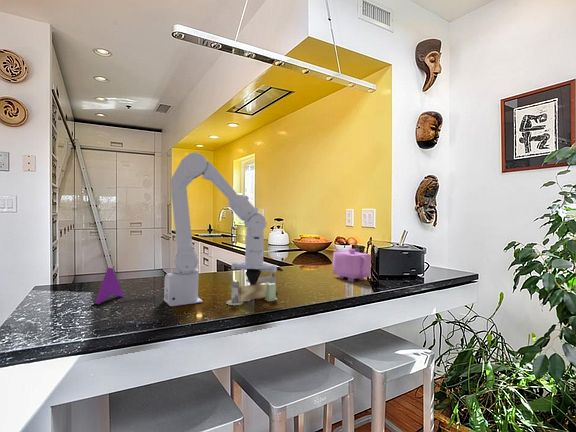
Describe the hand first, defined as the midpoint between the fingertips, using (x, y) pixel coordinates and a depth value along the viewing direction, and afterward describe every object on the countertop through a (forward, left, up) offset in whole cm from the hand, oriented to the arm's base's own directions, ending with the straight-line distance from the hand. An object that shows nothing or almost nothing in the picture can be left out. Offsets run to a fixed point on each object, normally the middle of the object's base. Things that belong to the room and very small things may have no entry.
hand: (253, 293), depth 107 cm
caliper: (+10, +14, -2) cm, 17 cm away
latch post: (+4, -5, -2) cm, 6 cm away
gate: (-1, -3, -1) cm, 3 cm away
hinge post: (-8, -3, -2) cm, 9 cm away
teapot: (+50, +9, -2) cm, 51 cm away
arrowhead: (-39, +18, -2) cm, 43 cm away
